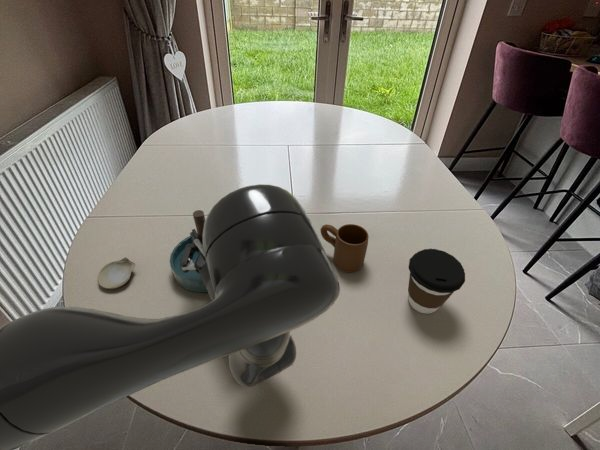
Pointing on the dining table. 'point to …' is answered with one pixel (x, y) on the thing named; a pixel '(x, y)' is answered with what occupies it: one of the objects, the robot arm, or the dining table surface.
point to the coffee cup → (433, 279)
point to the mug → (347, 245)
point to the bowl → (190, 278)
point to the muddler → (199, 223)
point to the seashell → (115, 273)
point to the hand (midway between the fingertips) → (200, 230)
